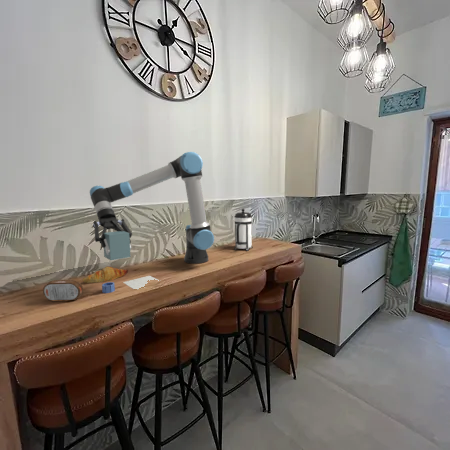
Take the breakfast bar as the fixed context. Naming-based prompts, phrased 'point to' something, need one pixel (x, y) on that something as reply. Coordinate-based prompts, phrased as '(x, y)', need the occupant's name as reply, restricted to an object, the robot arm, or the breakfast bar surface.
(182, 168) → the robot arm
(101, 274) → the croissant
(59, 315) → the breakfast bar surface
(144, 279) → the mat
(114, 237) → the grey-blue rectangular block
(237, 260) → the breakfast bar surface
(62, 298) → the tin
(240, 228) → the coffee press
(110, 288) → the blue hex nut
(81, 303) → the breakfast bar surface
